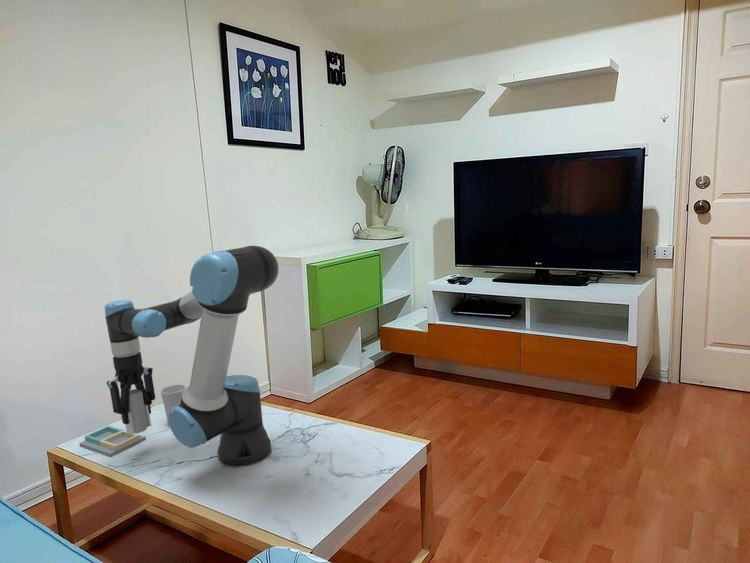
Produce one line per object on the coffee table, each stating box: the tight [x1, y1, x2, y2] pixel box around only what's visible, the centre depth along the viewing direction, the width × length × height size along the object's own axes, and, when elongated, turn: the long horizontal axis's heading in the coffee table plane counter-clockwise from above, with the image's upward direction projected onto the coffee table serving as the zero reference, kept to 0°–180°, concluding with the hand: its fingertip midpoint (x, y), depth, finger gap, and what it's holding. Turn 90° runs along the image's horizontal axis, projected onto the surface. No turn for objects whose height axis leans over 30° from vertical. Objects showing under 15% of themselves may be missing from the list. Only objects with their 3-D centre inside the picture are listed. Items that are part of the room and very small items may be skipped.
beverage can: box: [128, 388, 148, 434], centre depth 159 cm, size 5×5×12 cm
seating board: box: [78, 425, 147, 458], centre depth 168 cm, size 16×12×2 cm
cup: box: [160, 383, 187, 427], centre depth 180 cm, size 8×8×12 cm
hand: (139, 429), depth 159 cm, fingers closed on beverage can, 5 cm apart
